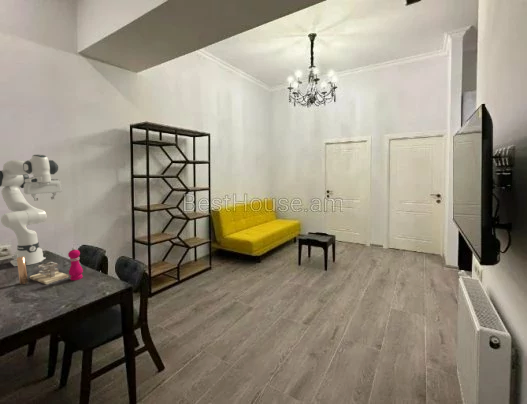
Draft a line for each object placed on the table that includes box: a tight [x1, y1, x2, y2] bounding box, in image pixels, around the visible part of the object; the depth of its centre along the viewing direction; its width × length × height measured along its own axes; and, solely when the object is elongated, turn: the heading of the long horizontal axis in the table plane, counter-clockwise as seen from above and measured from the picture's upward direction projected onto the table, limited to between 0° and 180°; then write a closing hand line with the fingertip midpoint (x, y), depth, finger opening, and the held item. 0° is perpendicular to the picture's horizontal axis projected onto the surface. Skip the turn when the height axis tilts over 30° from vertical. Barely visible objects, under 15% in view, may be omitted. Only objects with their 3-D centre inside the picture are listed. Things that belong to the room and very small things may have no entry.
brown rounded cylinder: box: [17, 256, 29, 285], centre depth 159 cm, size 4×4×16 cm
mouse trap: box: [29, 261, 70, 285], centre depth 167 cm, size 20×12×9 cm, turn 63°
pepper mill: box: [67, 247, 84, 281], centre depth 165 cm, size 7×7×20 cm
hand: (44, 200), depth 177 cm, fingers open, 8 cm apart
